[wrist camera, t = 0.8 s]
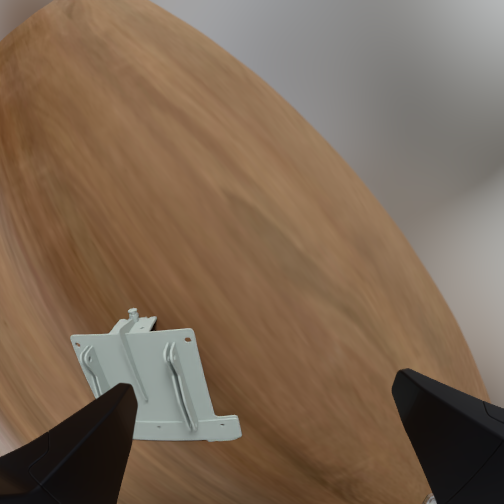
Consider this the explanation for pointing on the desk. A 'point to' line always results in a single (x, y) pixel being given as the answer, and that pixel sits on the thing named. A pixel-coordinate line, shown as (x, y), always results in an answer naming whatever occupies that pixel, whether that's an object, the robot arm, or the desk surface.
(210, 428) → the metal bracket
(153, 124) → the desk surface
